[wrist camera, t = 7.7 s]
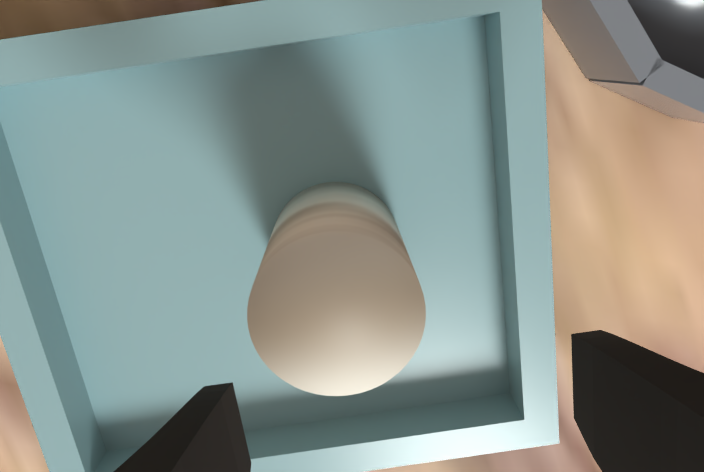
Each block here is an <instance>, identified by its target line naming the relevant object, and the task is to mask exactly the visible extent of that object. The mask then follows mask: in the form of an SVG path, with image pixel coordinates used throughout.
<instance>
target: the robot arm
mask: <svg viewBox="0 0 704 472" xmlns="http://www.w3.org/2000/svg"><path fill="white" fill-rule="evenodd" d="M571 336H572V370H573V404H574V419H575V421H576V423H577V425H578V427H579V429H580V431H581V434H582V436H583V438H584V440H585V442H586V444H587V446H588V448H589V450H590V452H591V454H592V456H593V458H594V459H595V461H596V462H597V464H598V466H599V467H600V469H601V470H602V472H704V373H702V372H699V371H697V370H694V369H692V368H690V367H687V366H685V365H682V364H680V363H678V362H675V361H673V360H671V359H668V358H666V357H664V356H662V355H659V354H657V353H655V352H653V351H650V350H648V349H646V348H644V347H641V346H639V345H637V344H635V343H632V342H630V341H628V340H625V339H623V338H621V337H618V336H616V335H613V334H611V333H608V332H605V331H602V330H597V331H590V332H583V333H576V334H571ZM114 472H251V459H250V455H249V451H248V446H247V442H246V438H245V433H244V429H243V425H242V420H241V416H240V412H239V408H238V403H237V399H236V395H235V390H234V386H233V382H231V383H224V384H217V385H210V386H204V387H203V388H202V389H201V390H199V391H198V392H197V393H196V394H195V395H194V396H193V397H192V398H191V399H190V400H189V401H188V402H187V403H186V404H185V405H184V406H183V407H182V408H181V409H180V410H179V411H178V412H177V413H176V414H175V415H174V416H173V417H172V418H171V419H170V420H169V421H168V422H167V423H166V424H165V425H164V426H163V427H162V428H161V429H160V430H159V431H157V432H156V433H155V434H154V435H153V436H152V437H151V438H150V439H149V440H148V441H147V442H146V443H145V444H144V445H143V446H142V447H141V448H139V449H138V450H137V451H136V452H135V453H134V454H133V455H132V456H130V457H129V458H128V459H127V460H126V461H125V462H124V463H123V464H122V465H120V466H119V467H118V468H117V469H116V470H115V471H114Z"/></svg>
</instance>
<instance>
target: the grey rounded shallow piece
mask: <svg viewBox="0 0 704 472" xmlns="http://www.w3.org/2000/svg"><path fill="white" fill-rule="evenodd" d="M542 9H543V11H544V12H545V14H546V15H547V17H548V19H549V20H550V22H551V23H552V25H553V26H554V28H555V30H556V31H557V33H558V34H559V36H560V38H561V39H562V41H563V42H564V44H565V46H566V47H567V49H568V50H569V52H570V53H571V55H572V57H573V58H574V60H575V61H576V63H577V65H578V66H579V68H580V69H581V71H582V73H583V74H584V76H585V77H586V78H588V79H589V81H591V82H593V83H595V84H597V85H600V86H602V87H604V88H606V89H609V90H611V91H613V92H615V93H618V94H620V95H622V96H624V97H627V98H629V99H631V100H633V101H636V102H638V103H640V104H642V105H645V106H647V107H649V108H652V109H654V110H656V111H658V112H661V113H663V114H665V115H667V116H670V117H672V118H677V119H683V120H689V121H694V122H700V123H704V0H542Z"/></svg>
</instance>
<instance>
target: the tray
mask: <svg viewBox="0 0 704 472" xmlns="http://www.w3.org/2000/svg"><path fill="white" fill-rule="evenodd" d="M326 182H345V183H351V184H355V185H358V186H361V187H363V188H365V189H367V190H369V191H370V192H372V193H373V194H375V195H376V196H377V197H378V198H380V199H381V200H382V201H383V202H384V203H385V205H386V206H387V207H388V208H389V210H390V211H391V213H392V215H393V217H394V219H395V221H396V224H397V226H398V229H399V231H400V234H401V237H402V239H403V242H404V244H405V247H406V249H407V252H408V254H409V257H410V260H411V262H412V265H413V267H414V270H415V272H416V275H417V277H418V280H419V283H420V285H421V288H422V291H423V294H424V299H425V305H426V321H425V328H424V332H423V336H422V339H421V341H420V344H419V346H418V348H417V350H416V352H415V354H414V355H413V357H412V358H411V360H410V361H409V362H408V364H407V365H406V366H405V367H404V368H403V369H402V370H401V371H400V372H399V373H398V374H396V375H395V376H394V377H393V378H391V379H390V380H388V381H387V382H385V383H384V384H382V385H380V386H378V387H376V388H373V389H371V390H368V391H365V392H362V393H358V394H353V395H346V396H325V395H319V394H314V393H310V392H306V391H304V390H301V389H299V388H296V387H294V386H292V385H290V384H289V383H287V382H285V381H284V380H282V379H281V378H279V377H278V376H277V375H276V374H275V373H273V372H272V371H271V370H270V369H269V368H268V367H267V365H266V364H265V363H264V362H263V361H262V359H261V358H260V356H259V354H258V353H257V351H256V349H255V347H254V345H253V343H252V340H251V337H250V333H249V329H248V322H247V307H248V300H249V296H250V292H251V289H252V286H253V283H254V281H255V278H256V275H257V272H258V270H259V267H260V264H261V261H262V259H263V256H264V253H265V250H266V248H267V245H268V242H269V239H270V237H271V234H272V231H273V229H274V226H275V223H276V221H277V218H278V216H279V214H280V213H281V211H282V210H283V208H284V207H285V205H286V204H287V203H288V202H289V201H290V200H291V199H292V198H293V197H294V196H296V195H297V194H298V193H300V192H301V191H303V190H305V189H307V188H309V187H311V186H314V185H317V184H321V183H326ZM0 336H1V339H2V341H3V344H4V347H5V350H6V352H7V355H8V358H9V361H10V363H11V366H12V369H13V372H14V375H15V377H16V380H17V383H18V386H19V388H20V391H21V394H22V397H23V399H24V402H25V405H26V408H27V411H28V413H29V416H30V419H31V422H32V424H33V427H34V430H35V433H36V435H37V438H38V441H39V444H40V447H41V449H42V452H43V455H44V458H45V460H46V463H47V466H48V469H49V471H50V472H114V471H115V470H116V469H117V468H118V467H119V466H120V465H122V464H123V463H124V462H125V461H126V460H127V459H128V458H129V457H130V456H132V455H133V454H134V453H135V452H136V451H137V450H138V449H139V448H141V447H142V446H143V445H144V444H145V443H146V442H147V441H148V440H149V439H150V438H151V437H152V436H153V435H154V434H155V433H156V432H157V431H159V430H160V429H161V428H162V427H163V426H164V425H165V424H166V423H167V422H168V421H169V420H170V419H171V418H172V417H173V416H174V415H175V414H176V413H177V412H178V411H179V410H180V409H181V408H182V407H183V406H184V405H185V404H186V403H187V402H188V401H189V400H190V399H191V398H192V397H193V396H194V395H195V394H196V393H197V392H198V391H199V390H201V389H202V388H203V387H204V386H210V385H217V384H224V383H231V382H233V386H234V390H235V395H236V399H237V403H238V408H239V412H240V416H241V420H242V425H243V429H244V433H245V438H246V442H247V446H248V451H249V455H250V459H251V472H364V471H371V470H378V469H385V468H392V467H399V466H406V465H413V464H420V463H427V462H434V461H441V460H447V459H454V458H461V457H468V456H475V455H482V454H489V453H496V452H503V451H510V450H517V449H524V448H531V447H538V446H545V445H552V444H559V424H558V399H557V374H556V349H555V323H554V298H553V273H552V247H551V222H550V197H549V171H548V146H547V121H546V95H545V70H544V45H543V20H542V0H263V1H256V2H249V3H243V4H236V5H229V6H223V7H216V8H209V9H202V10H196V11H189V12H182V13H176V14H169V15H162V16H156V17H149V18H142V19H136V20H129V21H122V22H115V23H109V24H102V25H95V26H89V27H82V28H75V29H69V30H62V31H55V32H49V33H42V34H35V35H28V36H22V37H15V38H8V39H2V40H0Z"/></svg>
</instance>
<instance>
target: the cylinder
mask: <svg viewBox="0 0 704 472" xmlns="http://www.w3.org/2000/svg"><path fill="white" fill-rule="evenodd" d="M425 321H426V305H425V299H424V294H423V291H422V288H421V285H420V283H419V280H418V277H417V275H416V272H415V270H414V267H413V265H412V262H411V260H410V257H409V254H408V252H407V249H406V247H405V244H404V242H403V239H402V237H401V234H400V231H399V229H398V226H397V224H396V221H395V219H394V217H393V215H392V213H391V211H390V210H389V208H388V207H387V206H386V205H385V203H384V202H383V201H382V200H381V199H380V198H378V197H377V196H376V195H375V194H373V193H372V192H370V191H369V190H367V189H365V188H363V187H361V186H358V185H355V184H351V183H345V182H326V183H321V184H317V185H314V186H311V187H309V188H307V189H305V190H303V191H301V192H300V193H298V194H297V195H296V196H294V197H293V198H292V199H291V200H290V201H289V202H288V203H287V204H286V205H285V207H284V208H283V210H282V211H281V213H280V214H279V216H278V218H277V221H276V223H275V226H274V229H273V231H272V234H271V237H270V239H269V242H268V245H267V248H266V250H265V253H264V256H263V259H262V261H261V264H260V267H259V270H258V272H257V275H256V278H255V281H254V283H253V286H252V289H251V292H250V296H249V300H248V307H247V322H248V329H249V333H250V337H251V340H252V343H253V345H254V347H255V349H256V351H257V353H258V354H259V356H260V358H261V359H262V361H263V362H264V363H265V364H266V365H267V367H268V368H269V369H270V370H271V371H272V372H273V373H275V374H276V375H277V376H278V377H279V378H281V379H282V380H284V381H285V382H287V383H289V384H290V385H292V386H294V387H296V388H299V389H301V390H304V391H306V392H310V393H314V394H319V395H325V396H346V395H353V394H358V393H362V392H365V391H368V390H371V389H373V388H376V387H378V386H380V385H382V384H384V383H385V382H387V381H388V380H390V379H391V378H393V377H394V376H395V375H396V374H398V373H399V372H400V371H401V370H402V369H403V368H404V367H405V366H406V365H407V364H408V362H409V361H410V360H411V358H412V357H413V355H414V354H415V352H416V350H417V348H418V346H419V344H420V341H421V339H422V336H423V332H424V328H425Z"/></svg>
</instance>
